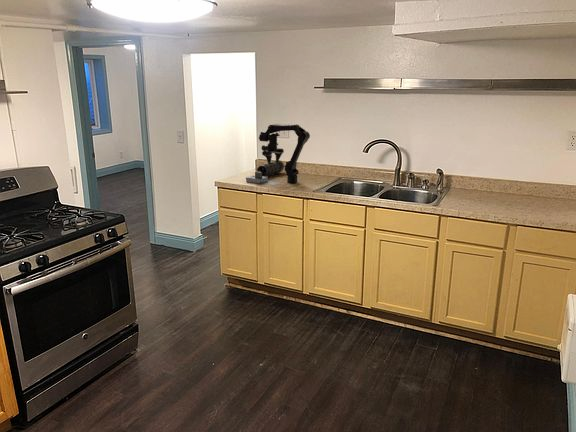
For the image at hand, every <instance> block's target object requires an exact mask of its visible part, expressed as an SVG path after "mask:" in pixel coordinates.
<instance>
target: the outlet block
mask: <svg viewBox="0 0 576 432" xmlns="http://www.w3.org/2000/svg"><path fill="white" fill-rule="evenodd" d="M245 178H246V179H245V182H246V183H250V184H256V185H261V184H263V183H267V182H269V179H268V178H269V176H267V177H264V176H262V178H255V174H254V175H251V176H247V177H245Z"/></svg>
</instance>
